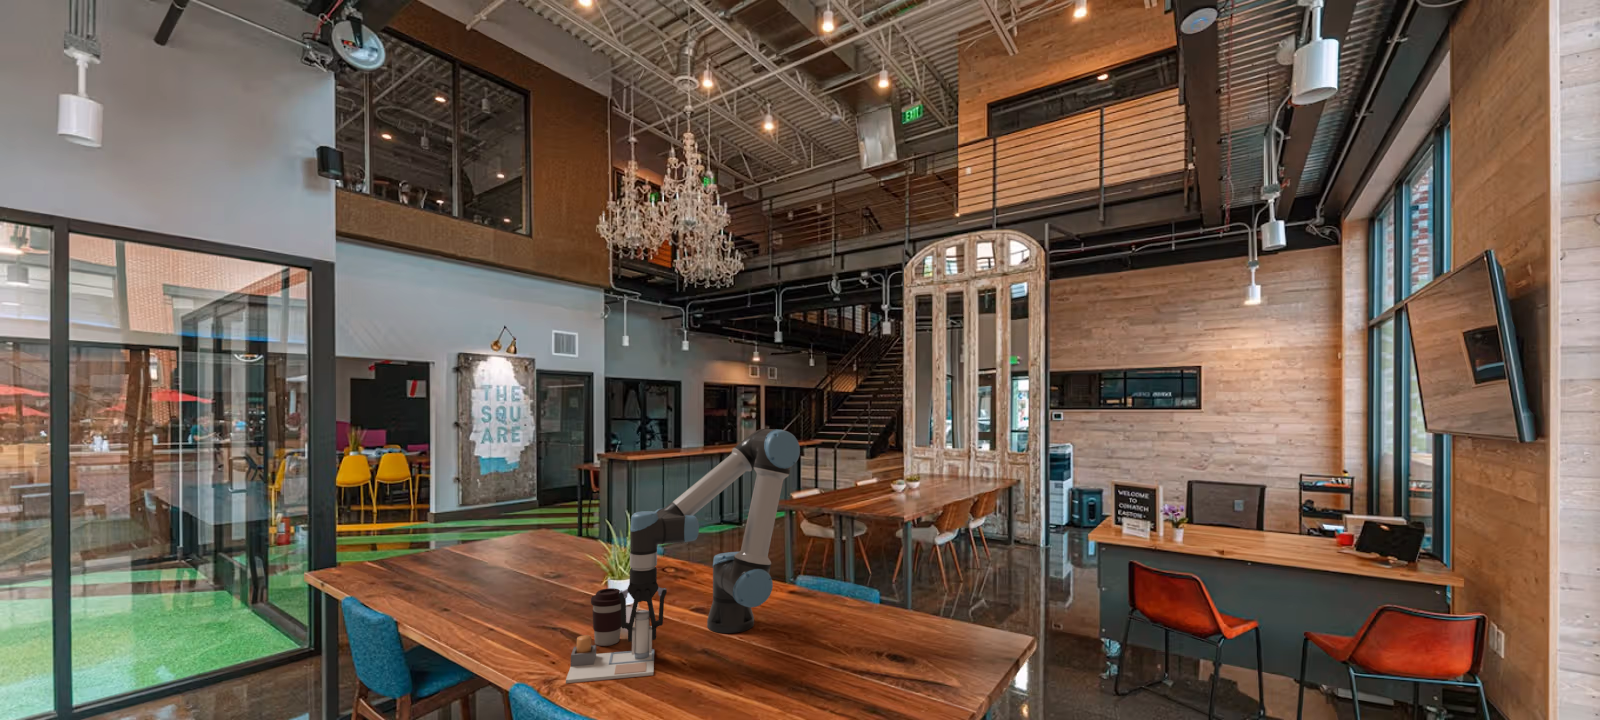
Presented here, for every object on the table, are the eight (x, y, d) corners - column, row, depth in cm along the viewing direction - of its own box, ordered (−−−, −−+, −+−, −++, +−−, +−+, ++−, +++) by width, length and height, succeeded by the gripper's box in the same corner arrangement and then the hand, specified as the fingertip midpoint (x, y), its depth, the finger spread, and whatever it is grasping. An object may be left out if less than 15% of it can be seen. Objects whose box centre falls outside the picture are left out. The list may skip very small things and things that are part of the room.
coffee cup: (614, 649, 182) (615, 597, 183) (583, 647, 184) (584, 595, 185) (630, 637, 192) (630, 587, 193) (600, 634, 193) (601, 585, 195)
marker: (649, 652, 177) (650, 609, 178) (649, 658, 173) (649, 614, 174) (634, 654, 176) (635, 610, 177) (633, 659, 172) (634, 615, 173)
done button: (591, 653, 174) (592, 634, 174) (590, 658, 170) (590, 639, 171) (577, 654, 173) (577, 635, 173) (575, 659, 169) (575, 640, 170)
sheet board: (654, 651, 180) (654, 638, 180) (653, 675, 164) (653, 660, 165) (574, 658, 175) (574, 644, 176) (565, 683, 160) (566, 668, 160)
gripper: (673, 562, 182) (672, 644, 180) (613, 565, 179) (611, 649, 177) (674, 568, 175) (672, 654, 173) (611, 572, 171) (609, 660, 169)
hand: (641, 651), depth 175 cm, fingers closed on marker, 4 cm apart
